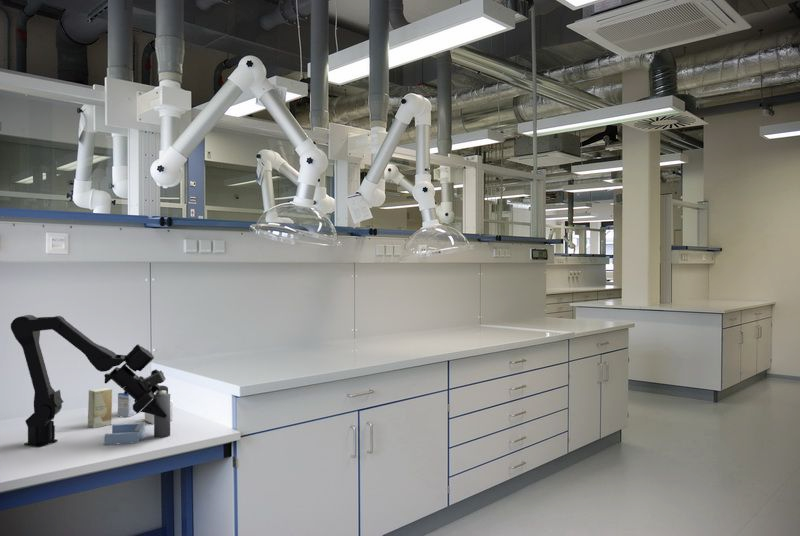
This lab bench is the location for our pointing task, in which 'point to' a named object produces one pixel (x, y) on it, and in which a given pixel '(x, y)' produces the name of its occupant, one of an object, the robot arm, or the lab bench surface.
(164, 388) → the medicine bottle
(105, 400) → the skincare box
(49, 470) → the lab bench surface
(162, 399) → the grey cylindrical bottle
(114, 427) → the socket cradle
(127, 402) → the medicine box
